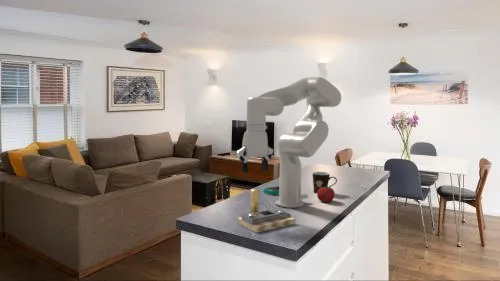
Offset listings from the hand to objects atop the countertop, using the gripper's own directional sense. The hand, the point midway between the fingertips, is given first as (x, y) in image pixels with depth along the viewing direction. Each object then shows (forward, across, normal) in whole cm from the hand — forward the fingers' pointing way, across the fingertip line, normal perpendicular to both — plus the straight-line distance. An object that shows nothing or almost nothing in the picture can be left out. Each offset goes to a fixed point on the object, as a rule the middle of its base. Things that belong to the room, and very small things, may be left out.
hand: (254, 171), depth 149 cm
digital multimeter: (+18, -32, -24) cm, 44 cm away
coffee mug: (+17, -50, -11) cm, 54 cm away
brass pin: (+18, 0, 0) cm, 18 cm away
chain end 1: (+16, +5, +12) cm, 20 cm away
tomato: (+18, -40, +1) cm, 44 cm away
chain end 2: (+16, 0, +12) cm, 20 cm away
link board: (+18, +3, +12) cm, 21 cm away
